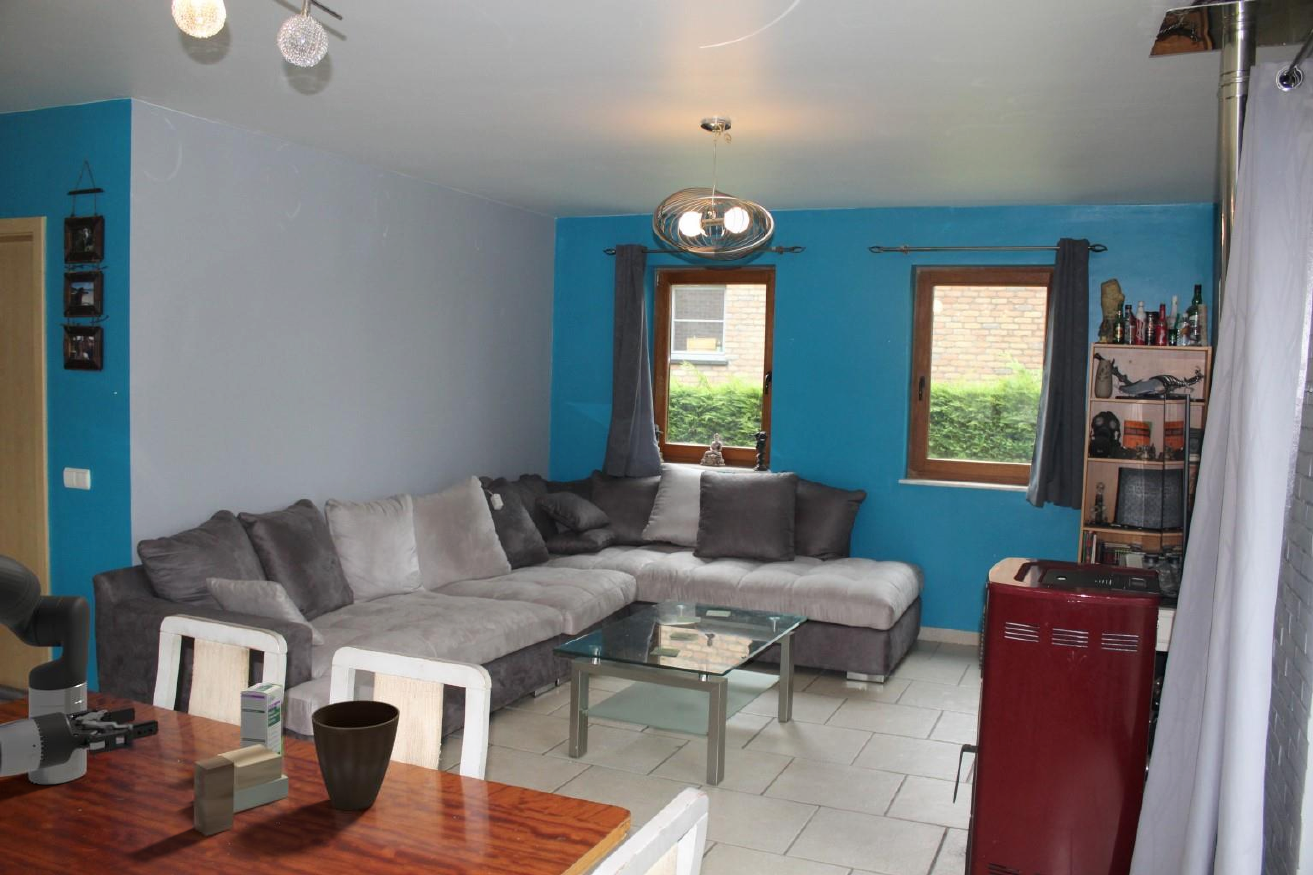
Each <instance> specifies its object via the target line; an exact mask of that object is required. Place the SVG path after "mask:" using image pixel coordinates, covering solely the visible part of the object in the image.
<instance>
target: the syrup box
mask: <svg viewBox="0 0 1313 875" xmlns="http://www.w3.org/2000/svg"><path fill="white" fill-rule="evenodd" d="M258 744H260V745H262V746H264V747H266V748H268V749H270V750H272V751H274V752H276V753H277V754H279V755H281V756H282V758H283V757H284V685H283V684H280V683H279V684H278V683H271V682H257V683H256V684H254V685H252V686H249V687H247V688H246V689H244V690H241V691H240V749H242V748H246V747H250V746H254V745H258Z"/></svg>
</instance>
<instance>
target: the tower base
mask: <svg viewBox="0 0 1313 875" xmlns="http://www.w3.org/2000/svg"><path fill="white" fill-rule="evenodd" d="M286 798H289V777H288V776H287V775H285V774H283V773H282V778H280V779H276V780H273V781H269V782H266V783H262V784H259V785H255V786H251V787H248V788H244V789H241V790H237V789H235V788H234V814H236V813H239V812H242V811H245V810H249V809H252V808H255V807H258V806H262V805H267V804H270V803H272V802H276V801H279V800H282V799H286Z"/></svg>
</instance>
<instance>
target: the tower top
mask: <svg viewBox="0 0 1313 875" xmlns="http://www.w3.org/2000/svg"><path fill="white" fill-rule="evenodd" d="M221 755H222V756H223V757H225V758H227V759H229V760H230V761H232V762H234V788H235V789H237V790H241V789H244V788H248V787H251V786H255V785H259V784H262V783H266V782H269V781H273V780H276V779H280V778H282V774H283V773H282V772H283V771H282V769H283V768H282V766H283V757H282V756H281V755H279V754H277V753H276V752H274V751H272V750H270V749H268V748H266V747H264V746H262V745H260V744H258V745H254V746H250V747H246V748H242V749H241V748H238V749H235V750H231V751H226V752H223V753H219V754H216V757H217V756H221Z"/></svg>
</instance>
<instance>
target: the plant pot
mask: <svg viewBox="0 0 1313 875" xmlns="http://www.w3.org/2000/svg"><path fill="white" fill-rule="evenodd" d="M400 715H401V712H400V710H399V708H398V707H397V706H396V705H393V704H390V703H388V702H383V701H378V700H368V699H367V700H363V699H361V700H359V699H357V700H348V701H347V700H346V701H338V702H334V703H330V704H327V705H324V706H322V707H318V709H315V710H314V711H313V712H312V714H311V725H312V733H313V740H314V745H315V751H316V752H315V753H316V756H317V757H316V758H317V760H318V765H319V770H320V773H321V777H322V780H323V782H324V786H325V790H326V793H327V795H328V798H329V800H330V803H331V805H332V806H333V807H334V808H335V809H338V810H342V811H358V810H363V809H366V808H369V807H371V806H372V805H373V804H374V803H375V802H376V800H377V797H378V795H379V793H380V790H381V788H382V785H383V782H384V780H385V778H386V777H385V776H386V774H387V771H388V768H389V765H390V762H391V757H392V754H393V750H394V747H395V741H396V736H397V731H398V727H399V726H398V725H399V719H400Z"/></svg>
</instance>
